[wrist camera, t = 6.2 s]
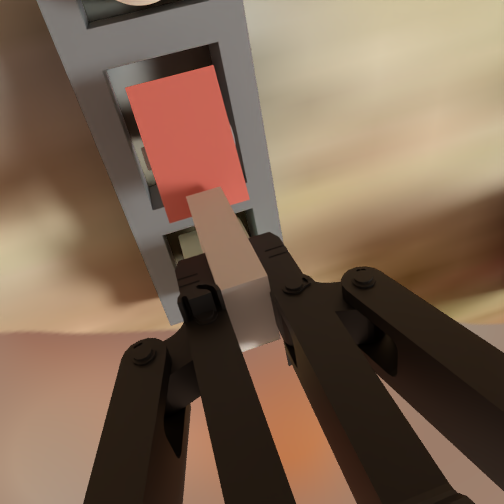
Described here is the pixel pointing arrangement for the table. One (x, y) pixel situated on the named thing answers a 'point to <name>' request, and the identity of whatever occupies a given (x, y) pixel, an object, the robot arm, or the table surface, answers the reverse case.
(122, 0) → the cream rounded ball
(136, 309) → the table surface
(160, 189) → the rocker
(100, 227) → the table surface
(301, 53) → the table surface
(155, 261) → the panel
